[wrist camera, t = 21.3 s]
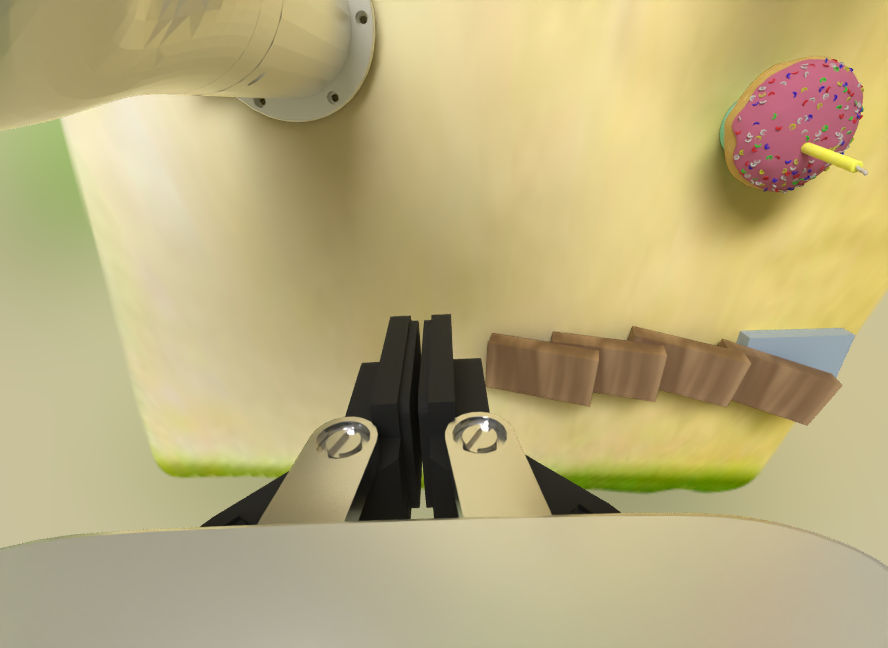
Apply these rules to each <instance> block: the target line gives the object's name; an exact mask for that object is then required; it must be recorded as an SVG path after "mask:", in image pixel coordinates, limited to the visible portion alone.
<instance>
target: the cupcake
mask: <svg viewBox="0 0 888 648" xmlns="http://www.w3.org/2000/svg"><path fill="white" fill-rule="evenodd" d="M841 63H842V64H841ZM843 64H844V63H843V62H838V61H837V60H835V59H831V58H828V57H824V56H811V57H805V58H801V59H797V60H793V61H789V62H785V63H780V64H776V65H774V66H772V67H771V68H769V69H768V70H766V71H765V72H763V73H762V74H761V75H760V76H759V77H758V78H757V79H756V80H755V81H754V82H753V83H752V84H751V85H750V86H749V87H748V88H747V89H746V91H745V92H744V93H743V95H742V96H741V97H740V99H739V100H738V101H737V102H736V103H735V104H734V105H733V106H732V107H731V108H730V109H729V111H728V112H727V113H726V115H725V117H724V119H723V121H722V124H721V128H720V142H721V145H722V147H723V149H724V150H725V160H726V164H727V166H728V169H729V171H730V172H731V174H732V175H733V176H734V177H735V178H736V179H738V180H739V181H741V182H742V183H744V184H745V185H747V186H749V187H752V188H756V189H760V190H763V191H772V192H782V193H787V191H786V190H794V188H795V187H798V186H799V187H802V186H804V183H806V182H808V181H809V180H811V179H814V178H815V177H816V176H817V175H819V174H820V173H821V172H823V171H827V170H828V169H829V166H830V165H835V166H837V167H840V168H842V169H845V170H847V171H850V172H853V173H854V172H858V171H859V172H861V173H863V174H864V175H867V174H868V172H867V171H866V170H865V169H862V167H863V163H862V162H861V161H859V160H856V159H853V158H850V157H848V156H845V155H843V154H844V153H843V152H844V151H845V150H846V149H848V148H849V144H850V143H851V142H852V141H853V140H854V138H853V136H854V134H855V131H856V129H857V126H858V123H859V120H860V119H861V118H862V117H863V115H861V112H863V110H864V109H863V106H862V103H863V91H864V89H863V88H861V87H863V86H862V85H861V83H859V82H858V80H857V78H856V77H855V75H854V74H853V72H852V71H853V69H852V68H848V67H847V66H845V65H843ZM847 146H848V147H847ZM827 167H828V169H827ZM826 169H827V170H826ZM792 188H793V189H792Z"/></svg>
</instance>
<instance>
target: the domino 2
mask: <svg viewBox="0 0 888 648" xmlns="http://www.w3.org/2000/svg"><path fill="white" fill-rule="evenodd" d="M551 343H558V344H564V345H570V346H576V347H583V348H589V349H595V350H599V363H598V368H597V373H596V378H595V383H594V388H593V392H595V393H601V394H608V395H614V396H621V397H627V398H634V399H640V400H647V401H653V402H655V401H656V397H657V393H658V390H659V386H660V382H661V378H662V374H663V370H664V367H665V363H666V359H667V354H666V350H665V347H664V345H658V344H650V343H642V342H633V341H625V340H617V339H609V338H601V337H593V336H585V335H577V334H568V333H560V332H553V335H552V342H551Z"/></svg>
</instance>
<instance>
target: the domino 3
mask: <svg viewBox="0 0 888 648" xmlns="http://www.w3.org/2000/svg"><path fill="white" fill-rule="evenodd" d="M627 341H633V342H642V343H650V344H658V345H664V347H665V350H666V354H667V359H666V363H665V367H664V370H663V374H662V378H661V382H660V386H659V390H663V391H667V392H670V393H674V394H678V395H682V396H686V397H689V398H693V399H697V400H701V401H705V402H709V403H712V404H716V405H720V406H724V407H727V406H728V404H729V402H730V401H731V399H732V397H733V395H734V393H735V392H736V390H737V388H738V386H739V385H740V383H741V381H742V379H743V377H744V376H745V374H746V372H747V370H748V369H749V367H750V365H751V362H750V361H749V359H748V357H747V356H746V354H745V353H744V352H740V351H736V350H732V349H727V348H723V347H719V346H715V345H710V344H706V343H702V342H698V341H693V340H689V339H685V338H681V337H677V336H672V335H668V334H664V333H660V332H655V331H651V330H647V329H643V328H638V327H634V326H633V327H632V329H631V332H630V334H629V337H628V340H627Z"/></svg>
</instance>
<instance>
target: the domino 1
mask: <svg viewBox="0 0 888 648" xmlns="http://www.w3.org/2000/svg"><path fill="white" fill-rule="evenodd" d="M598 363H599V350H595V349H589V348H583V347H576V346H570V345H564V344H558V343H551V342H545V341H539V340H532V339H526V338H520V337H514V336H507V335H501V334H495V333H492V335H491V337H490V339H489V341H488V347H487V364H486V381H485V386H486V387H491V388H497V389H502V390H507V391H512V392H517V393H522V394H527V395H532V396H538V397H543V398H548V399H553V400H558V401H563V402H568V403H573V404H579V405H584V406H589V407H590V403H591V398H592V393H593V388H594V383H595V378H596V373H597V368H598Z"/></svg>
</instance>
